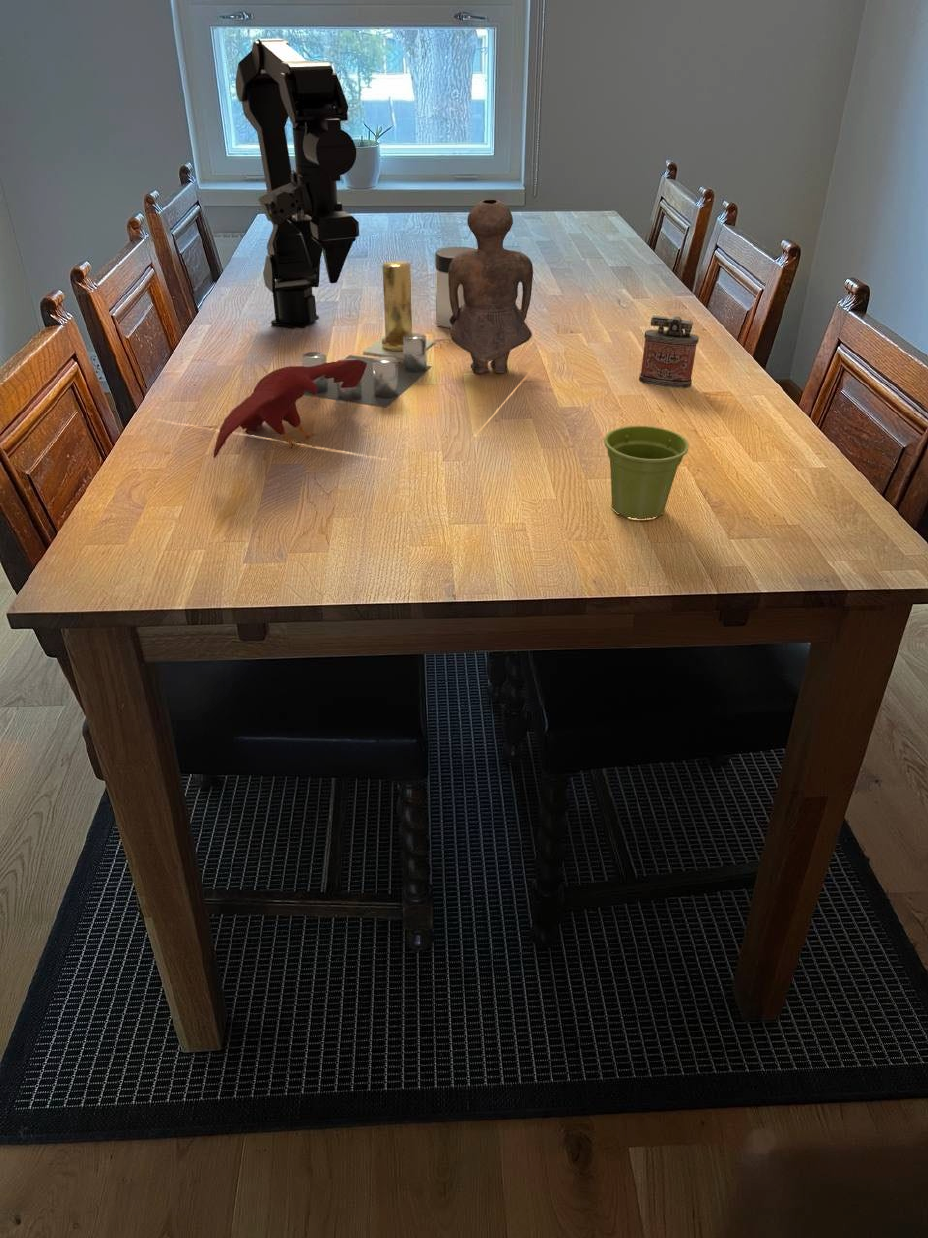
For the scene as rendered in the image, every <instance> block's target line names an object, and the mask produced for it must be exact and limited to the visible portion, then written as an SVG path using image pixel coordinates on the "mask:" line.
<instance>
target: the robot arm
mask: <svg viewBox="0 0 928 1238" xmlns="http://www.w3.org/2000/svg"><path fill="white" fill-rule="evenodd" d="M237 64H238V65H237V69H236V75H235V79H234V81H235V92H236V95H237V96H236V97H237V99H238V102H240V103H241V106H242V111H243V116H244V117H245V118H246V120H248V123H250V125H251V126H252V127H253V129H254V130H255V131H256V134H257V139H258V145H259V153H260V157H261V163H262V169H263V175H264V176H263V177H264V180H265V187H266V192H267V193H265V194H263V195H262V196H260V197H259V198H258V202H259V204H260V206H261V208H262V211H263V213H264V215H265V217H266V219H267V221H268V222H271V224H272V230H271V232H270V236H269V238H268V242H267V243H266V250H267V251H266V252H267V255H266V256H265V262H264V266H263V272H262V273H263V274H262V275H263V280H264V285H265V287H266V288H267V290H268V291H270V292H271V293H272V301H273V308H274V309H273V310H274V317H275V318H274V319H273V320H271V321H270V324H271V325H272V326H280V327H285V328H292V329H294V328H297V329H304V328H306V327H307V326H309V325H311V324H313V323H314V322H315V321H317V320H319V319H320V316H319V315H317V305H316V304H317V303H316V296H315V294H314V295H313V288H319V285H320V278H321V277H320V270H321V266H320V265H321V261H322V260H321V258H322V255H323V260H324V263H325V269H326V273H327V277H328V281H329V284H337V283H338V281H339V278H340V276H341V273H342V270H343V267H344V265H345V262H346V260H347V257H348V255H349V253H350V250H351V248H352V246H353V243H354V242H356V239H357V238H358V237H359V236H360V222H359V221H358V219H356V218H355V217H354V216H353V215H352V214H350V213H348V212H347V211H344V210H343V203H341V202H339V199H338V189H337V188H338V187H337V182H338V181H339V182H340V181H341V176H343V175H345V174H347V173H348V172H350V170H352V168H353V167H354V164H355V162H356V159H357V147H356V145H355V142H354V140H353V137H352V136H351V135H350V134H349V133H347V132H346V131H345V130H343V129H342V122H345V121H346V122H347V121H348V120H349V116H348V111H349V105H348V102H347V99H346V95H345V93H344V90H343V87H342V85H341V81H340V80H339V76H338V75H337V72H336V71H334V68H333V67H332V65H331V64H330V63H329V62H328V61H327V62H326V61H320V60H319V61H315V60H312V61H311V60H306V59H305V58H304V57H303V56H301V55H300V54H299V53H298V52H297V51H295V50H294V49H293V48H292V47H291V46H290V44H289V42H288V40H284V39H283V38H258V39H257V40H256V41H255V40H254V41H253V43H252V47H251V50H250V52H249V53H248V54H246V55H245V56H244V57H243V58H242V59H241V60H240V61H239V62H238V63H237ZM288 118H289V121H290V122H291V125H292V139H293V151H294V161H295V169H292V165H291V159H290V152H289V146H288V140H287V134H286V125H287V122H288Z"/></svg>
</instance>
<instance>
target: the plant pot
mask: <svg viewBox="0 0 928 1238" xmlns="http://www.w3.org/2000/svg"><path fill="white" fill-rule="evenodd" d="M603 440H604V441H603V443H604V446H605V448H606V449H607V456H608V458H609V467H610V468H609V469H610V487H611V488H610V490H611V491H610V492H611V493H610V494H611V509H612V508H613V509H614V510H615V511H616V512H617V513H619V514H621V515H620V516H624V517H625V516H626V518H627V517H631V518H637V519H645V518H646V519H647V518H653V517H656V516H658V517H659V516H661V514H662V513H663V512H664V513H665V509H666V506H667V502H668V500H669V496H670V493H671V489H672V487H673V483H674V480H675V478H676V473H677V470H678V466H679V465H680V464H681V463H682V461H683V458H684V457H685V455H687V453H688V451H689V449H690V445H689V442H688V440H687V439H686V438H685V437H683V436H682V434H679V433H677V432H675V431H673V430H669V429H666V428H663V427H657V426H650V425H627V426H622V427H618V428H615V429H613V430H610V431H609V432H608V433H607V434H605V437H604V439H603ZM613 509H612V510H613ZM664 513H663V514H664ZM663 514H662V515H663Z"/></svg>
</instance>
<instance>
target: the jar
mask: <svg viewBox="0 0 928 1238" xmlns="http://www.w3.org/2000/svg"><path fill="white" fill-rule="evenodd" d="M477 249H478V248H474V247H467V246H449V247H447V246H446V247H442V248H440V249H437V250H436V251H435V253H434V254H435V255H434V258H435V259H434V260H435V261H434V263H435V265H434V266H435V267H434V268H435V317H436V318H435V319H436V325H437V326H438V327H442V328H447V329H451V327H452V324H451V323H450V318H451V316H452V315H453V313H452V309H451V305H450V299H449V285H448V272H449V266H450V264H451V262H452V260H453V259H454V258H455V257H456V256H457V255H458V254H460V253H463V252H467V251H473V250H477ZM458 300H459V308H460V307H462V306H463V305H464V303H465V302H464V298H463V286H462V284H460V285H459V287H458Z"/></svg>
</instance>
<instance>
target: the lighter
mask: <svg viewBox="0 0 928 1238" xmlns="http://www.w3.org/2000/svg"><path fill="white" fill-rule="evenodd" d="M693 324H694V322H693V320H683V319H682V318H681V317H680V316H677V315H676V316H674V317H672V318H669V317H667V316H659V315H652V317H651V319H650V326H651V327H658V328H657V329H648V330H647V329H646V330H645V331H644V335H643V337H644V346H643V353H642V354H643V355H642V361H641V367H640V368H641V369H640V373H639V375H638V381H639V382H640V383H643V384H647V385H651V384H653V386H657V385H658V387H667V388H672V389H673V388H675V389H677V388H678V389H688V388H691V387H692V382H693V378H692V375H693V370H694V363H695V357H696V351H697V344H698V343H699V339H700V338H699V335H696V334H695V333H694V334H693V333H692V329H693ZM665 328H667V329H666V330H665Z"/></svg>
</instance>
